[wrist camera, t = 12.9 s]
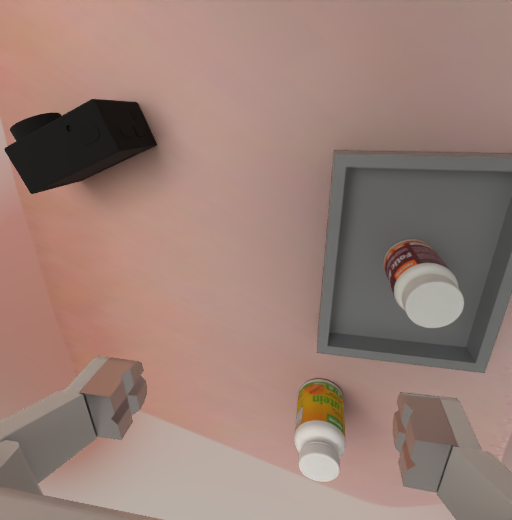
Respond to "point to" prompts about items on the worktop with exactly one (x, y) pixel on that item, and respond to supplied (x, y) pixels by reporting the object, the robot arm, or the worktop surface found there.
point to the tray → (424, 229)
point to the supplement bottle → (320, 430)
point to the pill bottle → (423, 284)
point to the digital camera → (77, 142)
